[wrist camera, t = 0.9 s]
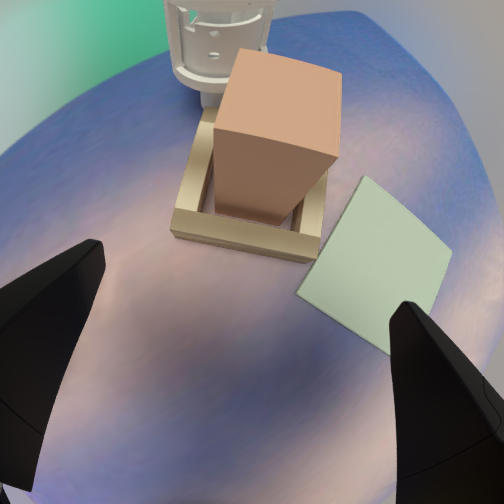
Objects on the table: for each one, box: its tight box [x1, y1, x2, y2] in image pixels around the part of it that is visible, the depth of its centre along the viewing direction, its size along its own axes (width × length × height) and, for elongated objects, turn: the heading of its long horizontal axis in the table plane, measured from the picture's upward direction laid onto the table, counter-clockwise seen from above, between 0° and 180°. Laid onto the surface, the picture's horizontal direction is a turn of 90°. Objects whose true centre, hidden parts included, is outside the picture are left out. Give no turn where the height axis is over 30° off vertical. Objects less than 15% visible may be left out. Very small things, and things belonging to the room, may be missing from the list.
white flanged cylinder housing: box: [163, 0, 279, 109], centre depth 16 cm, size 7×7×15 cm
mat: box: [295, 175, 452, 356], centre depth 23 cm, size 12×12×1 cm
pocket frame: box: [170, 106, 328, 264], centre depth 21 cm, size 10×10×3 cm
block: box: [213, 48, 342, 226], centre depth 17 cm, size 5×5×12 cm
